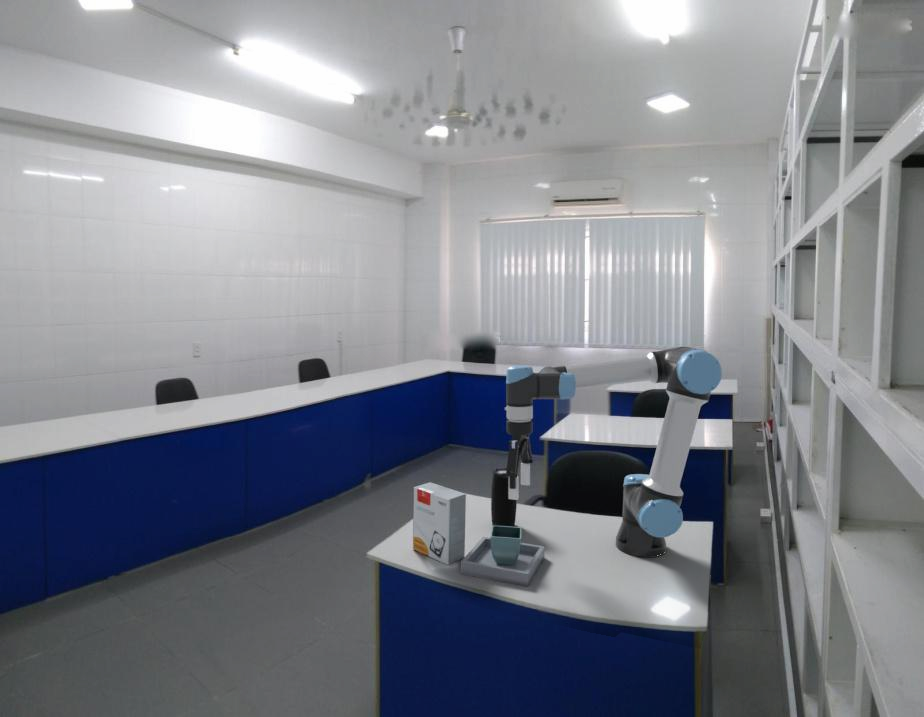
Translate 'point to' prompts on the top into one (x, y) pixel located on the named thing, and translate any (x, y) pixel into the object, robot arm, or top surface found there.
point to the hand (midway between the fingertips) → (519, 491)
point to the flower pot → (505, 544)
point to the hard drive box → (439, 522)
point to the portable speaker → (502, 500)
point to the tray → (486, 567)
